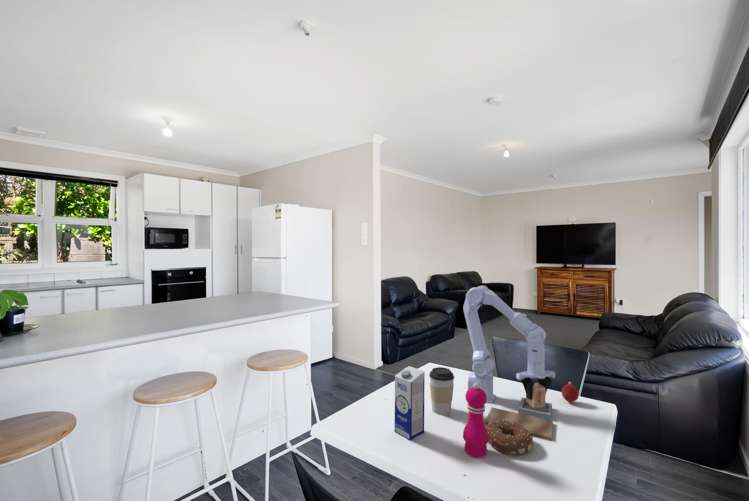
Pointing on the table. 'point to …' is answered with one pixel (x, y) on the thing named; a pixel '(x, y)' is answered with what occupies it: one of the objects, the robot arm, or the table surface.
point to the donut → (509, 437)
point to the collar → (535, 413)
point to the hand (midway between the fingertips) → (535, 397)
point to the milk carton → (409, 402)
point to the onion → (570, 393)
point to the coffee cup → (441, 390)
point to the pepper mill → (476, 423)
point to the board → (523, 422)
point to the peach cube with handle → (537, 396)
